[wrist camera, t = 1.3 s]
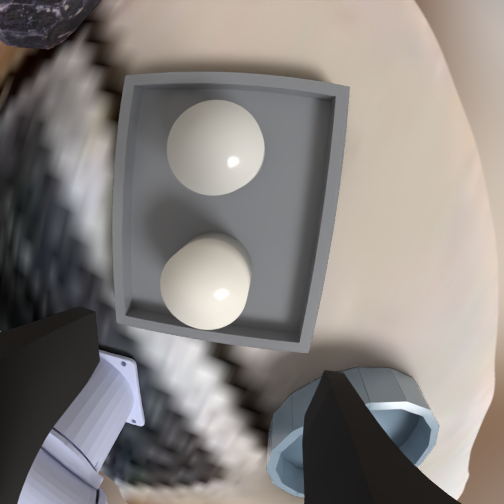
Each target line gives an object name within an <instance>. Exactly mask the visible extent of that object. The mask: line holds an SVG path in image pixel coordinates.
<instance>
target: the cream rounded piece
mask: <svg viewBox="0 0 504 504" xmlns="http://www.w3.org/2000/svg"><path fill="white" fill-rule="evenodd" d="M265 156H266V146H265V141H264V138H263V135H262V133H261V130H260V127H259V125H258V123H257V122H256V120H255V119H254V117H253V116H252V115H251V114H250V113H249V112H248V111H247V110H245V109H244V108H243V107H241V106H239V105H237V104H235V103H233V102H229V101H225V100H209V101H204V102H201V103H198V104H196V105H194V106H192V107H190V108H189V109H187V110H186V111H185V112H183V113H182V114H181V115H180V116H179V118H178V119H177V120H176V121H175V123H174V125H173V126H172V128H171V131H170V133H169V136H168V141H167V158H168V162H169V165H170V168H171V170H172V172H173V174H174V175H175V177H176V178H177V179H178V180H179V181H180V182H181V183H182V184H183V185H184V186H185V187H187V188H188V189H190V190H192V191H194V192H196V193H199V194H203V195H211V196H216V195H223V194H228V193H230V192H233V191H235V190H237V189H239V188H241V187H243V186H245V185H247V184H248V183H249V182H251V181H252V180H253V179H254V178H255V177H256V176H257V175H258V173H259V172H260V170H261V168H262V166H263V164H264V161H265Z"/></svg>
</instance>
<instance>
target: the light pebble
mask: <svg viewBox="0 0 504 504" xmlns="http://www.w3.org/2000/svg"><path fill="white" fill-rule="evenodd" d="M252 270H253V268H252V261H251V258H250V255H249V253H248V251H247V250H246V248H245V247H244V246H243V245H242V244H241V243H240V242H239V241H238V240H237V239H235V238H234V237H232V236H230V235H228V234H224V233H220V232H207V233H203V234H200V235H198V236H196V237H195V238H193V239H192V240H191V241H189V242H188V243H187V244H186V245H185V246H184V247H182V248H181V249H180V250H179V251H178V252H177V253H176V254H175V255H173V256H172V257H171V258H170V259H169V260H168V262H167V263H166V265H165V266H164V268H163V271H162V274H161V278H160V290H161V295H162V298H163V300H164V302H165V305H166V306H167V308H168V309H169V311H170V312H171V313H172V314H173V315H174V316H175V317H176V318H177V319H178V320H180V321H181V322H183V323H184V324H186V325H188V326H191V327H194V328H197V329H203V330H213V329H219V328H222V327H225V326H227V325H229V324H230V323H232V322H233V321H234V320H236V319H237V318H238V316H239V315H240V314H241V312H242V311H243V309H244V307H245V304H246V300H247V296H248V291H249V287H250V282H251V278H252Z"/></svg>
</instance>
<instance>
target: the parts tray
mask: <svg viewBox="0 0 504 504" xmlns="http://www.w3.org/2000/svg"><path fill="white" fill-rule="evenodd" d="M349 90H350V87H348V86H343V85H338V84H333V83H327V82H321V81H315V80H308V79H301V78H294V77H285V76H276V75H266V74H254V73H238V72H161V73H146V74H134V75H125V80H124V86H123V93H122V99H121V106H120V114H119V122H118V130H117V140H116V151H115V164H114V180H113V206H112V252H113V278H114V294H115V307H116V318H117V323H119V324H124V325H128V326H132V327H137V328H142V329H146V330H151V331H156V332H161V333H166V334H171V335H177V336H182V337H188V338H193V339H199V340H205V341H211V342H218V343H224V344H231V345H238V346H246V347H253V348H262V349H270V350H279V351H289V352H299V353H309V349H310V345H311V341H312V337H313V332H314V328H315V323H316V319H317V314H318V309H319V305H320V300H321V295H322V290H323V285H324V280H325V274H326V269H327V264H328V258H329V252H330V247H331V241H332V235H333V229H334V222H335V216H336V209H337V202H338V195H339V188H340V180H341V172H342V164H343V156H344V147H345V137H346V127H347V116H348V104H349ZM209 100H225V101H229V102H233V103H235V104H237V105H239V106H241V107H243V108H244V109H245V110H247V111H248V112H249V113H250V114H251V115H252V116H253V117H254V119H255V120H256V122H257V123H258V125H259V127H260V130H261V133H262V135H263V138H264V141H265V146H266V156H265V161H264V164H263V166H262V168H261V170H260V172H259V173H258V175H257V176H256V177H255V178H254V179H253V180H252V181H251V182H249V183H248V184H247V185H245V186H243V187H241V188H239V189H237V190H235V191H233V192H230V193H228V194H223V195H216V196H211V195H203V194H199V193H196V192H194V191H192V190H190V189H188V188H187V187H185V186H184V185H183V184H182V183H181V182H180V181H179V180H178V179H177V178H176V177H175V175H174V174H173V172H172V170H171V168H170V165H169V162H168V158H167V141H168V136H169V133H170V131H171V128H172V126H173V125H174V123H175V121H176V120H177V119H178V118H179V116H180V115H181V114H182V113H183V112H185V111H186V110H187V109H189V108H190V107H192V106H194V105H196V104H198V103H201V102H204V101H209ZM207 232H220V233H224V234H228V235H230V236H232V237H234V238H235V239H237V240H238V241H239V242H240V243H241V244H242V245H243V246H244V247H245V248H246V250H247V251H248V253H249V255H250V258H251V261H252V268H253V270H252V278H251V282H250V287H249V291H248V296H247V300H246V304H245V307H244V309H243V311H242V312H241V314H240V315H239V316H238V318H237V319H236V320H234V321H233V322H232V323H230V324H229V325H227V326H225V327H222V328H219V329H213V330H203V329H197V328H194V327H191V326H188V325H186V324H184V323H183V322H181V321H180V320H178V319H177V318H176V317H175V316H174V315H173V314H172V313H171V312H170V311H169V309H168V308H167V306H166V305H165V302H164V300H163V298H162V295H161V290H160V278H161V274H162V271H163V268H164V266H165V265H166V263H167V262H168V260H169V259H170V258H171V257H172V256H173V255H175V254H176V253H177V252H178V251H179V250H180V249H181V248H182V247H184V246H185V245H186V244H187V243H188V242H189V241H191V240H192V239H193V238H195V237H196V236H198V235H200V234H203V233H207Z"/></svg>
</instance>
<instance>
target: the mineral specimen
mask: <svg viewBox="0 0 504 504" xmlns="http://www.w3.org/2000/svg"><path fill="white" fill-rule="evenodd" d="M100 1H101V0H0V41H1V42H3V43H4V44H6V45H7V46H13V47H23V48H38V49H50V48H53V47H54V46H56V45H58V44H60V43H62V42H63V41H64V40H66V39H67V38H68V37H69V35H70V34H71V33H72V32H74V31H75V30H76V29H77V28H78V27H79V25H80V24H81V23H82V22H83V21H84V19H85V18H86V17H87V16H88V15H89V14H90V13H91V11H92V10H93V9H94V8H95V7H96V6H97V5H98V4H99V3H100Z"/></svg>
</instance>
